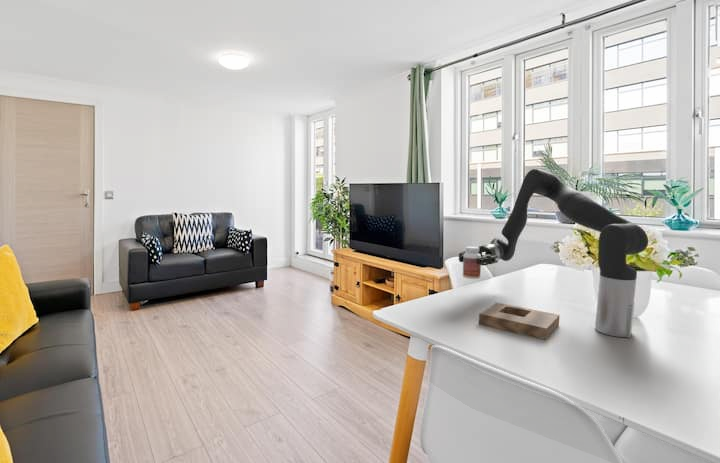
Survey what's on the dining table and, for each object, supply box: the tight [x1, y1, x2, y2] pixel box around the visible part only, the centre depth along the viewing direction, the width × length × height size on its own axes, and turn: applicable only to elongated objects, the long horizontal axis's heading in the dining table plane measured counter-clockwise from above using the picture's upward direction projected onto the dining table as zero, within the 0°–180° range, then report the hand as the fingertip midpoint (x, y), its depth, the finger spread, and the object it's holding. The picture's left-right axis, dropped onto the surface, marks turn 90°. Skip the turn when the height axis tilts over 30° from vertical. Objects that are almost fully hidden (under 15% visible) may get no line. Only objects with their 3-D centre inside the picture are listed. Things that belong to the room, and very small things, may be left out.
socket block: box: [478, 302, 560, 341], centre depth 124 cm, size 20×16×4 cm
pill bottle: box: [462, 246, 482, 280], centre depth 141 cm, size 6×6×11 cm
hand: (469, 260), depth 139 cm, fingers closed on pill bottle, 6 cm apart
